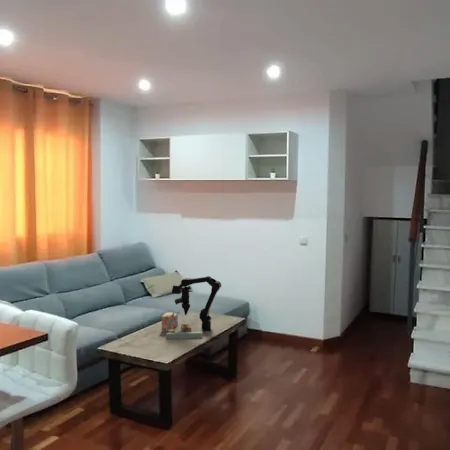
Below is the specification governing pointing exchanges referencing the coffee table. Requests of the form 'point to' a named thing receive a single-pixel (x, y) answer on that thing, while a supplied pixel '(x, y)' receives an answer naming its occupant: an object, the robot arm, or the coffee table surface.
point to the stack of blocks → (169, 321)
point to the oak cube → (171, 331)
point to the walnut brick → (185, 328)
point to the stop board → (184, 335)
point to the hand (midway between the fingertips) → (185, 314)
